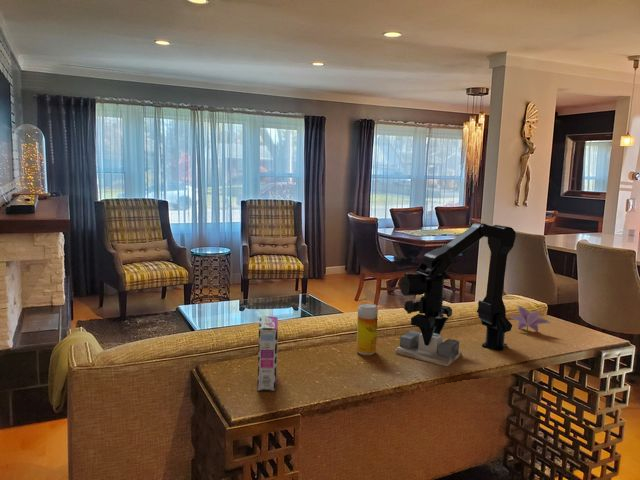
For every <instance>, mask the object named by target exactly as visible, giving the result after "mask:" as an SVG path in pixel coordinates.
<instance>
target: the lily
mask: <svg viewBox="0 0 640 480" xmlns="http://www.w3.org/2000/svg"><path fill="white" fill-rule="evenodd" d="M517 308H518V314H519V315H512V316H510V319H512V320H515V321H517V322H518V323H517V328H518V329H523V328H526V335H528V331H529V330H528V329H529V328H530V329H532V330H534V331H535V332H537V333H538V332H539V325H542V324H551V321H549V320H548V319H546V318H544V317H540V311H537V310H536V311H533V312H530V310H528V309H526V308H525V307H523V306H520V305H519V306H518V307H517Z"/></svg>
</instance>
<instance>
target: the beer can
mask: <svg viewBox="0 0 640 480" xmlns="http://www.w3.org/2000/svg"><path fill="white" fill-rule="evenodd" d="M378 314H379V309H378V307H377V305H376V304H374V303H368V302H367V303H360V304H359V306H358V307H357V319H356V320H357V325H356V346H355V347H356V348H355V349H356V351H357V353H358V354H359V355H362V356H373V355H374V354H375V353H376V351H377V340H378V339H377V337H378V336H377V335H378V334H377V333H378Z"/></svg>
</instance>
